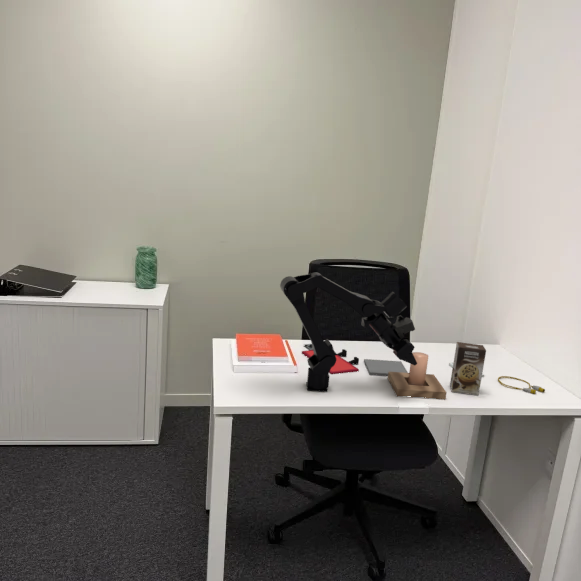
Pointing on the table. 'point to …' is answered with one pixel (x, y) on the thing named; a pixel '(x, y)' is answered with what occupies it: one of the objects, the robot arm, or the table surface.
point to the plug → (418, 369)
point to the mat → (383, 367)
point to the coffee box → (467, 368)
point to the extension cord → (523, 388)
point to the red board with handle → (337, 361)
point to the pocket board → (416, 386)
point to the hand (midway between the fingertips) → (411, 359)
